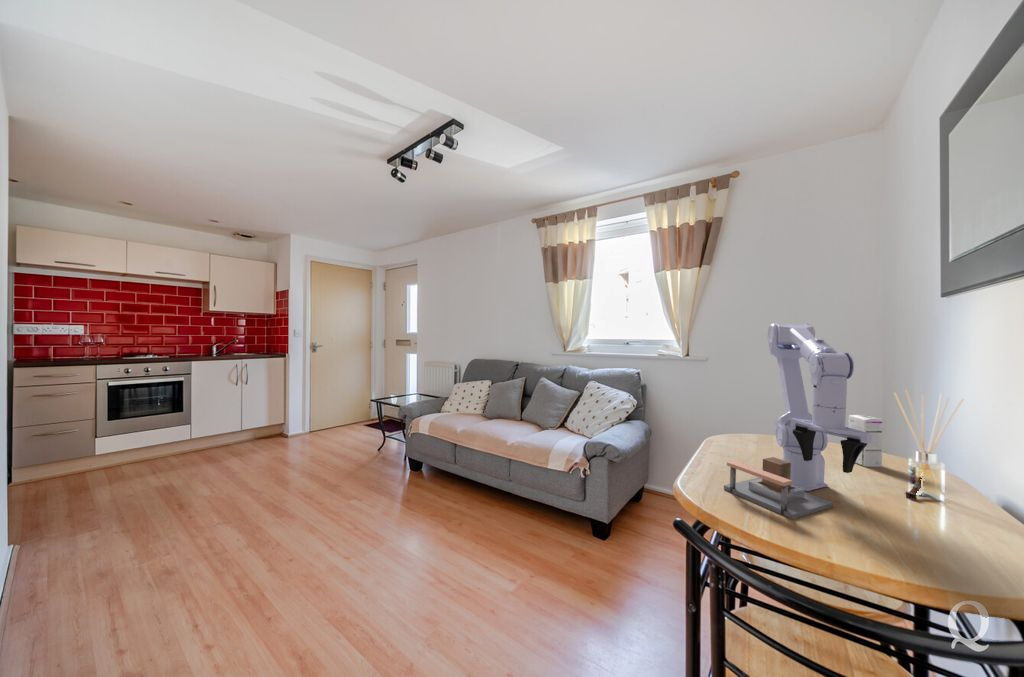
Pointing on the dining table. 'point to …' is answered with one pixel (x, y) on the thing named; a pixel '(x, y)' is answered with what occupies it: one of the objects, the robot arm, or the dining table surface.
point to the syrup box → (873, 450)
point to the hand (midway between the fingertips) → (826, 465)
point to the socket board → (774, 493)
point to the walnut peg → (776, 471)
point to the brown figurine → (914, 490)
